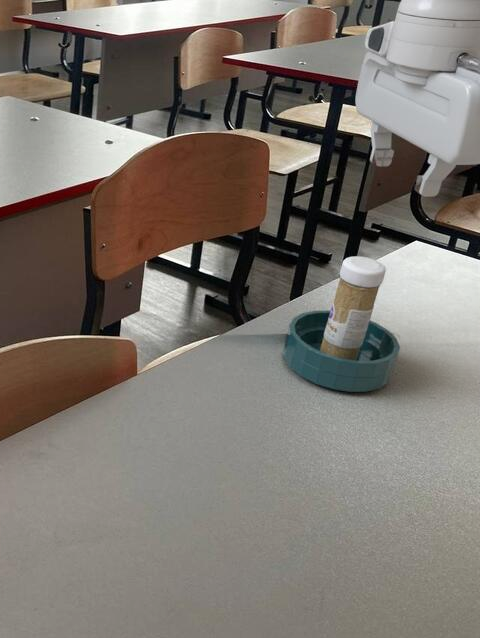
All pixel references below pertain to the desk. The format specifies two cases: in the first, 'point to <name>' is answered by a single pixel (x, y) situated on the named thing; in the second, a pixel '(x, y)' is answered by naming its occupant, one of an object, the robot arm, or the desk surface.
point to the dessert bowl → (335, 371)
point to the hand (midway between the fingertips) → (401, 178)
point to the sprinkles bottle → (352, 307)
